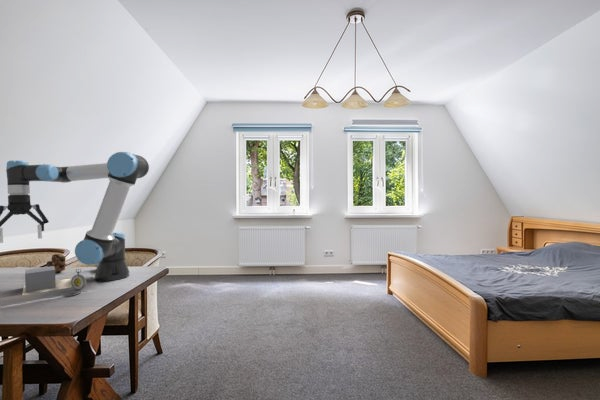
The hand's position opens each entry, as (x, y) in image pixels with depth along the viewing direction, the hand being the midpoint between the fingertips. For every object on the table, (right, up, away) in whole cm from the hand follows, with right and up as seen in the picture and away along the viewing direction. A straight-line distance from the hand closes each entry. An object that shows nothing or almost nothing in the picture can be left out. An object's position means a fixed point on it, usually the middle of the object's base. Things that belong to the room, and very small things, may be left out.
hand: (21, 240), depth 141 cm
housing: (+12, -21, -4) cm, 24 cm away
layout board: (+16, -22, -1) cm, 27 cm away
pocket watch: (+32, -22, -10) cm, 40 cm away
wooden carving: (-7, -22, +29) cm, 36 cm away
